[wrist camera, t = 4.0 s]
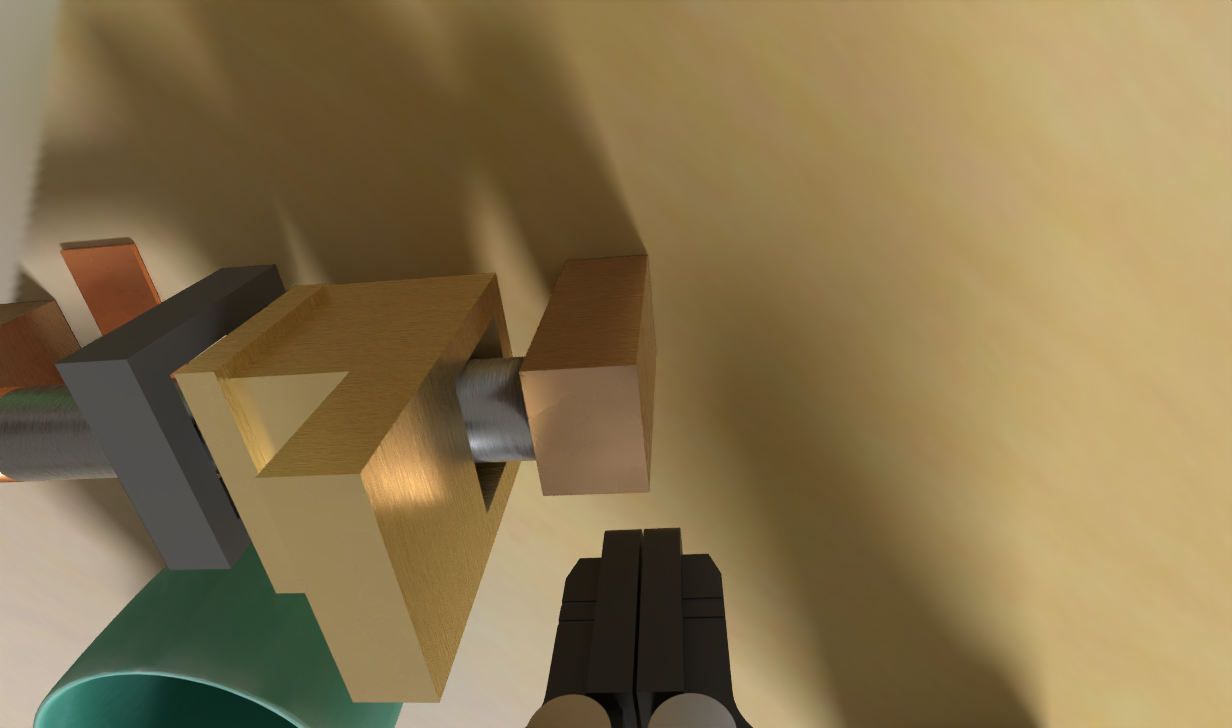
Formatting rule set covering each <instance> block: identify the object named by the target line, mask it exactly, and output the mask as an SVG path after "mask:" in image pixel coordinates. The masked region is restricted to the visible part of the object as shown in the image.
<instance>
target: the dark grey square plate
mask: <svg viewBox="0 0 1232 728" xmlns="http://www.w3.org/2000/svg"><path fill="white" fill-rule="evenodd" d="M285 293H286V292H285V289H284V287H283V284H282V281H281V278H280V275H279V273H278V270H277V267H276V264H272V265H260V266H247V267H235V268H222V269H220V270H218V271H216V272H214V273H213V274H211V275H209V276H207V277H206V278H204V279H202V280H200V281H199V282H197V283H195V284H193V285H192V286H190V287H188V288H186V289H185V290H183V291H181V292H179V293H178V294H176V295H174V296H172V297H171V298H169V299H167V300H165V301H164V302H162V303H160V304H158V305H157V306H155V307H153V308H151V309H150V310H148V311H146V312H144V313H143V314H141V315H139V316H137V317H136V318H134V319H132V320H130V321H129V322H127V323H125V324H123V325H122V326H120V327H118V328H116V329H115V330H113V331H111V332H109V333H108V334H106V335H104V336H102V337H101V338H99V339H97V340H95V341H94V342H92V343H90V344H88V345H87V346H85V347H83V348H81V349H80V350H78V351H76V352H74V353H73V354H71V355H69V356H67V357H66V358H64V359H62V360H60V361H59V362H57V363H55V366H56V368H57V369H58V371H59V373H60V375H61V377H62V378H63V380H64V382H65V384H66V386H67V387H68V389H69V391H70V393H71V395H72V396H73V398H74V400H75V402H76V403H77V405H78V407H79V409H80V411H81V412H82V414H83V416H84V418H85V420H86V421H87V423H88V425H89V427H90V429H91V430H92V432H93V434H94V436H95V438H96V439H97V441H98V443H99V445H100V447H101V448H102V450H103V452H104V454H105V455H106V457H107V459H108V461H109V463H110V464H111V466H112V468H113V470H114V472H115V473H116V475H117V477H118V479H119V481H120V482H121V484H122V486H123V488H124V490H125V491H126V493H127V495H128V497H129V499H130V500H131V502H132V504H133V506H134V507H135V509H136V511H137V513H138V515H139V516H140V518H141V520H142V522H143V524H144V525H145V527H146V529H147V531H148V533H149V534H150V536H151V538H152V540H153V542H154V543H155V545H156V547H157V549H158V551H159V552H160V554H161V556H162V558H163V559H164V561H165V563H166V565H167V567H168V568H169V570H192V569H231V568H232V567H233V566H234V564H235V563H236V562H237V560H238V559H239V558H240V557H241V555H242V554H243V553H244V552H245V550H246V549H247V548H248V547H249V545H250V544H251V543H252V540H251V538H250V536H249V534H248V532H247V530H246V528H245V525H244V523H243V521H242V519H241V517H240V515H239V513H238V510H237V508H236V506H235V504H234V502H233V500H232V498H231V496H230V493H229V491H228V489H227V487H226V485H225V483H224V481H223V478H222V477H221V478H220V479H219V478H218V476H217V474H216V472H215V470H214V467H213V465H212V463H211V461H210V459H209V457H208V455H207V453H206V450H205V448H204V446H203V444H202V442H201V440H200V438H199V436H198V434H197V431H196V429H195V427H194V425H193V423H192V421H191V419H190V417H189V414H188V412H187V410H186V408H185V406H184V404H183V402H182V400H181V397H180V395H179V393H178V391H177V389H176V387H175V385H174V383H173V381H172V378H171V376H170V375H171V374H172V373H174V372H175V371H176V370H178V369H179V368H181V367H182V366H183V365H185V364H186V363H187V362H189V361H190V360H192V359H193V358H194V357H196V356H197V355H199V354H200V353H201V352H203V351H204V350H205V349H207V348H208V347H210V346H211V345H212V344H214V343H215V342H216V341H218V340H219V339H221V338H222V337H223V336H225V335H228V334H230V333H231V332H232V331H234V330H235V329H237V328H238V327H239V326H241V325H242V324H243V323H245V322H246V321H247V320H249V319H250V318H252V317H253V316H254V315H256V314H257V313H258V312H260V311H261V310H263V309H264V308H265V307H267V306H268V305H269V304H271V303H272V302H274V301H275V300H276V299H278V298H279V297H280V296H282V295H283V294H285Z"/></svg>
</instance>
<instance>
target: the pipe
mask: <svg viewBox="0 0 1232 728" xmlns="http://www.w3.org/2000/svg"><path fill="white" fill-rule="evenodd" d="M60 252H61V254H62V256H63V258H64V260H65V262H66V264H67V266H68V268H69V270H70V272H71V274H72V276H73V278H74V280H75V282H76V284H77V286H78V288H79V290H80V292H81V294H82V296H83V298H84V300H85V302H86V304H87V305H88V307H89V309H90V311H91V313H92V315H93V317H94V319H95V321H96V323H97V325H98V327H99V329H100V331H101V333H102V335H103V336H104V335H106V334H108V333H109V332H111V331H113V330H115V329H116V328H118V327H120V326H122V325H123V324H125V323H127V322H129V321H130V320H132V319H134V318H136V317H137V316H139V315H141V314H143V313H144V312H146V311H148V310H150V309H151V308H153V307H155V306H157V305H158V304H160V303H161V301H160V299H159V297H158V295H157V292H156V290H155V288H154V286H153V283H152V281H151V279H150V277H149V275H148V272H147V270H146V268H145V266H144V264H143V261H142V259H141V257H140V255H139V253H138V250H137V248H136V246H135V244H123V245H111V246H100V247H88V248H76V249H65V250H62V251H60ZM80 349H81V348H80V347H79V345H78V343H77V341H76V339H75V337H74V335H73V333H72V331H71V330H70V328H69V326H68V324H67V322H66V320H65V318H64V316H63V314H62V313H61V311H60V309H59V307H58V305H57V303H56V301H55V300H49V301H36V302H23V303H10V304H0V482H24V481H48V480H73V479H97V478H118V477H117V475H116V473H115V472H114V470H113V468H112V466H111V464H110V463H109V461H108V459H107V457H106V455H105V454H104V452H103V450H102V448H101V447H100V445H99V443H98V441H97V439H96V438H95V436H94V434H93V432H92V430H91V429H90V427H89V425H88V423H87V421H86V420H85V418H84V416H83V414H82V412H81V411H80V409H79V407H78V405H77V403H76V402H75V400H74V398H73V396H72V395H71V393H70V391H69V389H68V387H67V386H66V384H65V382H64V380H63V378H62V377H61V375H60V373H59V371H58V369H57V368H56V366H55V363H57V362H59V361H60V360H62V359H64V358H66V357H67V356H69V355H71V354H73V353H74V352H76V351H78V350H80ZM187 364H189V363H188V362H187V363H186V364H185V365H183V366H182V367H181V368H179V369H178V370H176V371H175V372H174V373H172V374H171V375H170V376H171V378H172V381H173V383H174V385H175V387H176V389H177V391H178V393H179V395H180V397H181V400H182V402H183V404H184V406H185V408H186V410H187V412H188V414H189V417H190V419H191V421H192V423H193V425H194V427H195V429H196V431H197V434H198V436H199V438H200V440H201V442H202V444H203V446H204V448H205V450H206V453H207V455H208V457H209V459H210V461H211V463H212V465H213V467H214V470H215V472H216V474H218V473H220V472H219V470H218V468H217V466H216V463H215V461H214V459H213V457H212V455H211V453H210V451H209V449H208V446H207V444H206V442H205V440H204V438H203V436H202V434H201V431H200V429H199V427H198V425H197V423H196V421H195V419H194V416H193V414H192V412H191V410H190V408H189V406H188V404H187V401H186V399H185V397H184V395H183V393H182V391H181V389H180V387H179V384H178V382H177V380H176V378H175V376H174V374H175V373H176V372H178V371H179V370H180V369H182V368H183V367H184V366H186V365H187ZM655 369H656V344H655V332H654V321H653V309H652V298H651V286H650V274H649V263H648V255H638V256H625V257H612V258H599V259H586V260H573V261H566V263H565V265H564V267H563V270H562V272H561V275H560V277H559V279H558V282H557V284H556V286H555V289H554V291H553V293H552V296H551V298H550V300H549V303H548V305H547V307H546V310H545V312H544V314H543V317H542V319H541V321H540V324H539V326H538V328H537V331H536V333H535V335H534V338H533V340H532V342H531V345H530V347H529V349H528V352H527V354H526V356H525V357H510V358H493V359H477V360H468V361H467V363H466V364H465V366H464V368H463V369H462V371H461V373H460V375H459V376H458V378H457V380H456V381H455V387H456V391H457V395H458V399H459V403H460V407H461V411H462V415H463V419H464V423H465V427H466V431H467V435H468V439H469V443H470V447H471V451H472V455H473V459H474V463H485V462H510V461H534V460H536V462H537V467H538V472H539V477H540V482H541V487H542V492H543V496H555V495H584V494H613V493H641V492H649V486H650V467H651V447H652V428H653V408H654V388H655Z"/></svg>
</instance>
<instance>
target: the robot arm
mask: <svg viewBox="0 0 1232 728" xmlns="http://www.w3.org/2000/svg"><path fill="white" fill-rule="evenodd" d="M526 728H753V727H752V726H751V725H750V724H749V723H748V722H747V721H746V720H745V719H744V718H743V716H742V715H741V714H740V712H739V710H738V708H737V706H736V704H735V701H734V697H733V692H732V682H731V671H730V661H729V650H728V640H727V629H726V620H725V608H724V598H723V587H722V577H721V573H720V571H719V570H718V568H717V566H716V565H715V563H714V562H713V560H712V559H711V557H710V556H709V554H690V555H683V552H682V540H681V530H680V528H657V529H644V534H643V533H642V529H636V530H610V531H605V534H604V541H603V549H602V558H580V559H579V560H578V562H577V563H576V565H575V566H574V568H573V569H572V571H571V572H570V574H569V575H568V576H567V578H566V581H565V587H564V593H563V599H562V606H561V610H560V616H559V625H558V627H557V633H556V638H555V644H554V650H553V656H552V661H551V667H550V673H549V678H548V684H547V690H546V695H545V699H544V702H543V704H542V706H541V707H540V708H539V709H538V710H537V711H536V712H535V714H534V715H533V716H532V718H531V719H530V721H529V723H528V725H527V727H526Z"/></svg>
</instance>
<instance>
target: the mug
mask: <svg viewBox="0 0 1232 728" xmlns="http://www.w3.org/2000/svg"><path fill="white" fill-rule="evenodd" d="M402 705H403V702H353V701H352V699H351V696H350V694H349V692H348V690H347V687H346V685H345V683H344V681H343V678H342V676H341V674H340V671H339V669H338V667H337V665H336V662H335V660H334V658H333V656H332V653H331V651H330V649H329V646H328V644H327V642H326V640H325V637H324V635H323V633H322V631H321V628H320V626H319V624H318V622H317V619H316V617H315V615H314V612H313V610H312V608H311V606H310V603H309V601H308V599H307V597H306V594H305V593H277V594H276V592H275V590H274V587H273V585H272V583H271V581H270V579H269V577H268V575H267V572H266V570H265V568H264V566H263V564H262V562H261V560H260V558H259V555H258V553H257V551H256V549H255V547H254V545H253V543H251V544H250V545H249V547H248V548H247V549H246V550H245V552H244V553H243V554H242V555H241V557H240V558H239V559H238V560H237V562H236V563H235V564H234V566H233V567H232V568H231V569H192V570H169V568H168V567H165V568H164V569H163V570H162V571H161V572H160V573H158V574H157V575H156V576H155V577H154V578H153V579H152V580H151V581H150V582H149V583H148V584H147V585H146V586H145V587H144V588H143V589H142V590H141V591H140V592H139V593H138V594H137V595H136V596H135V597H134V598H133V599H132V600H131V601H130V602H129V603H128V604H127V605H126V607H125V608H124V609H123V610H122V611H121V612H120V613H119V614H118V615H117V616H116V617H115V618H114V619H113V620H112V621H111V623H110V624H109V625H108V626H107V627H106V628H105V629H104V630H103V631H102V632H101V633H100V635H99V636H98V637H97V638H96V639H95V640H94V641H93V642H92V643H91V645H90V646H89V647H88V648H87V649H86V650H85V651H84V652H83V654H82V655H81V656H80V657H79V658H78V659H77V660H76V661H75V663H74V664H73V665H72V666H71V667H70V668H69V670H68V671H67V672H66V673H65V674H64V675H63V677H62V678H61V679H60V680H59V681H58V682H57V684H56V685H55V686H54V687H53V688H52V690H51V691H50V692H49V693H48V695H47V696H46V697H45V699H44V700H43V701H42V703H41V705H40V706H39V708H38V710H37V712H36V715H35V719H34V724H33V728H394V727H395V724H396V722H397V719H398V716H399V713H400V711H401V708H402Z"/></svg>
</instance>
